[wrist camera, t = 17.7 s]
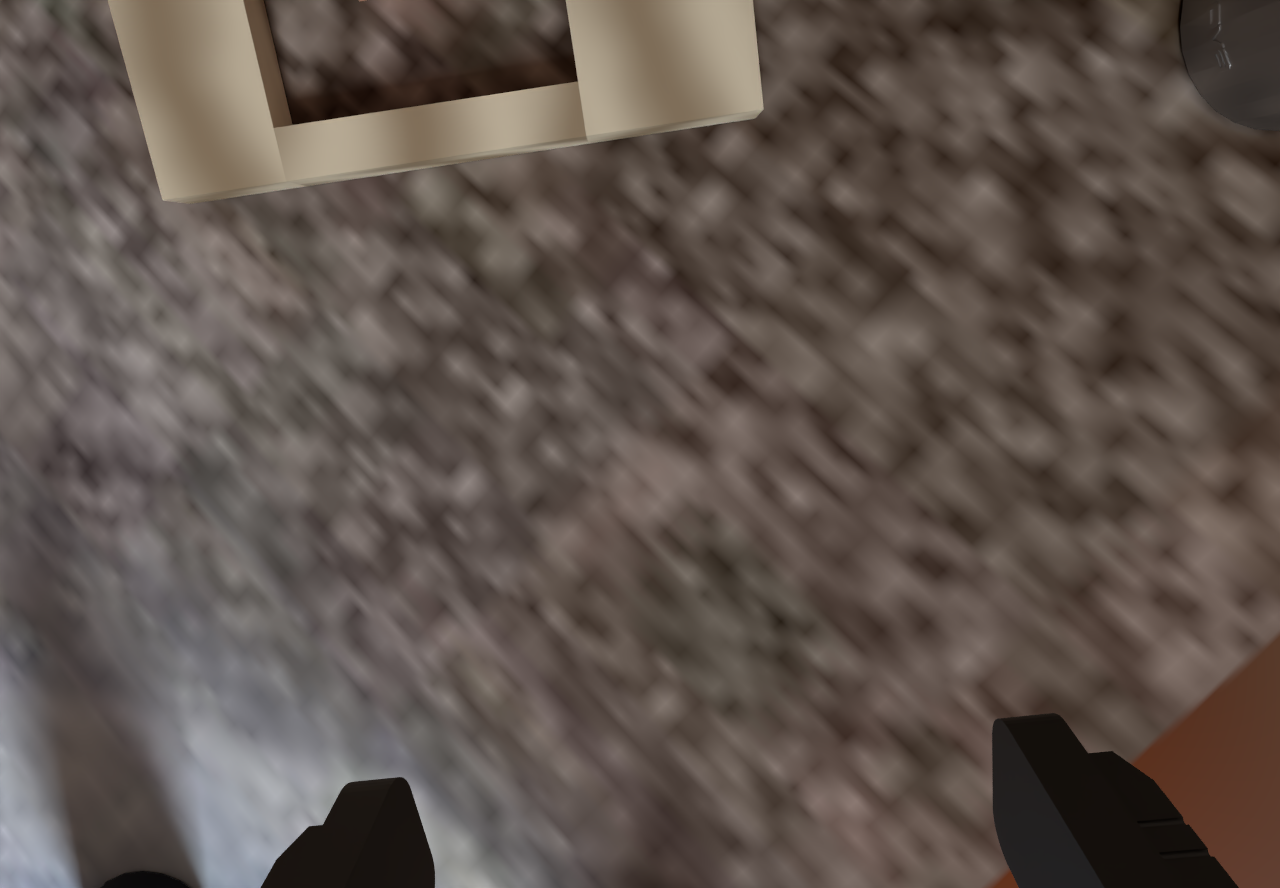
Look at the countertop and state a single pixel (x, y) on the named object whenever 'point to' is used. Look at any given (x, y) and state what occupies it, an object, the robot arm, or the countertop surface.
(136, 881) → the wine bottle
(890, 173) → the countertop surface
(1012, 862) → the robot arm
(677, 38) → the beige lopsided picture frame
